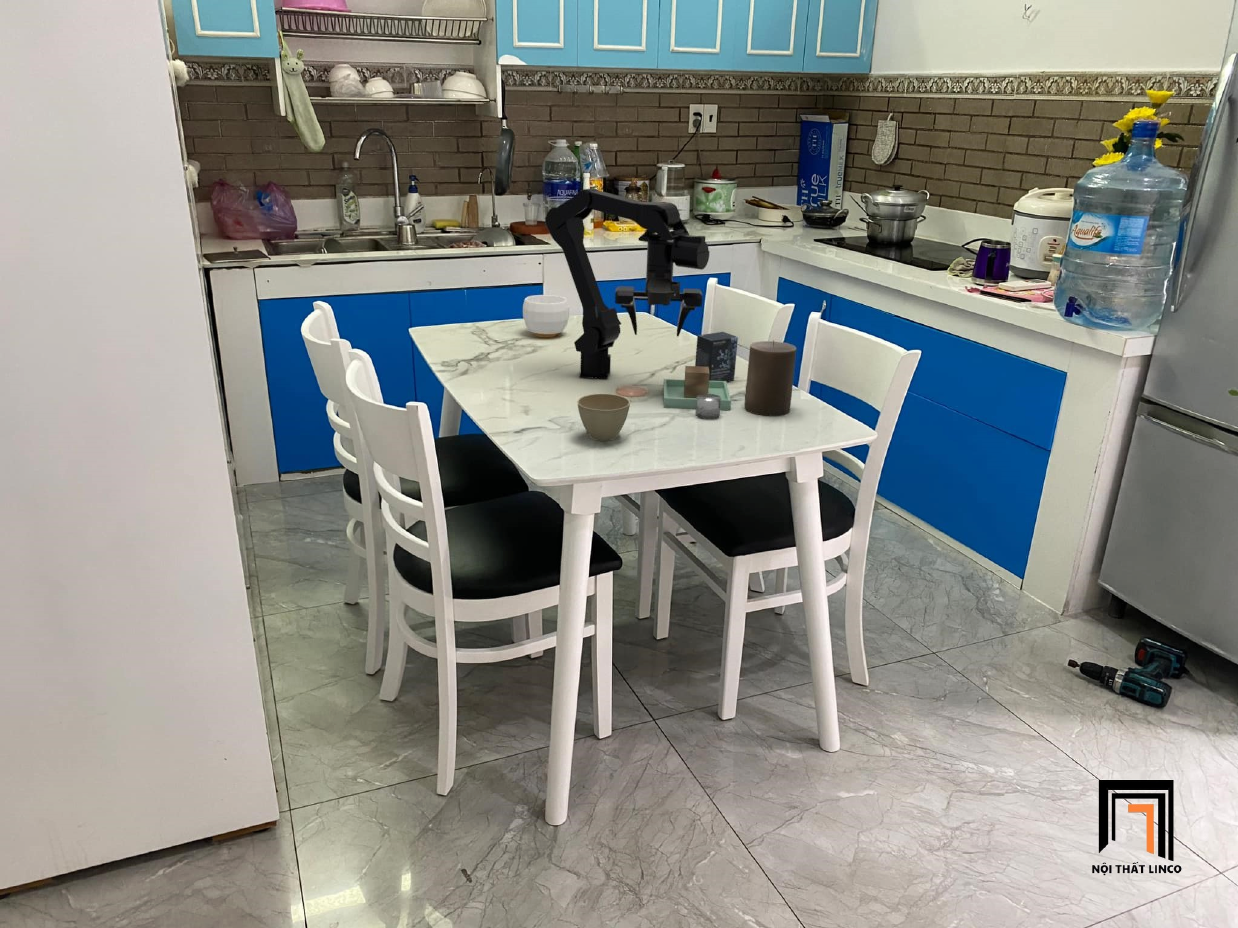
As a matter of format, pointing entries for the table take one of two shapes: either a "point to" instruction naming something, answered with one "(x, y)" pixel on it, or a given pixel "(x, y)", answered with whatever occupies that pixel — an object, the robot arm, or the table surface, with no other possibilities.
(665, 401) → the tray
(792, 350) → the pillar candle
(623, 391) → the pink dome
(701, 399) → the grey tin
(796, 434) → the table surface
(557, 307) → the cup
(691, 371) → the walnut block
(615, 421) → the flower pot
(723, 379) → the box
